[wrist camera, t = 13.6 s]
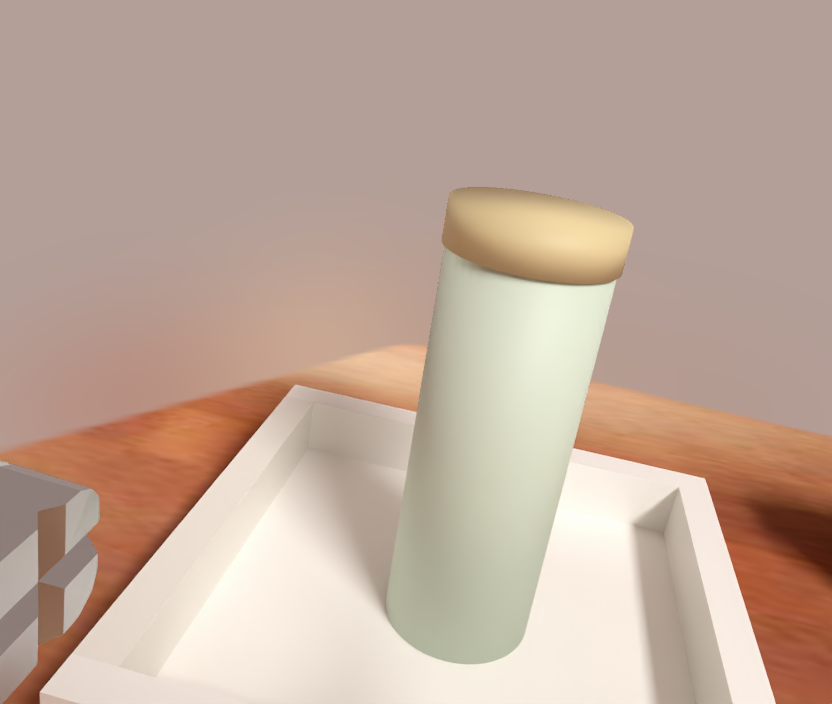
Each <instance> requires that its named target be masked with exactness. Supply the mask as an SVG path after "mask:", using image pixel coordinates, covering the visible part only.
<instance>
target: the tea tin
mask: <svg viewBox="0 0 832 704" xmlns="http://www.w3.org/2000/svg"><path fill="white" fill-rule="evenodd" d="M633 230H634V226H633V224H632V223H631V222H629V221H628V220H626V219H625V218H623V217H621V216H619V215H617V214H615V213H612V212H609V211H607V210H604V209H601V208H598V207H595V206H592V205H589V204H585V203H581V202H578V201H574V200H570V199H565V198H561V197H556V196H551V195H546V194H540V193H535V192H528V191H522V190H514V189H504V188H491V187H490V188H489V187H467V188H460V189H456V190H453V191H451V192H450V194H449V198H448V204H447V210H446V217H445V222H444V229H443V234H442V242H443V245H444V251H443V258H442V263H441V269H440V276H439V282H438V288H437V294H436V299H435V306H434V311H433V318H432V323H431V330H430V336H429V341H428V347H427V353H426V359H425V365H424V371H423V377H422V383H421V389H420V395H419V401H418V407H417V413H416V419H415V425H414V431H413V437H412V443H411V449H410V455H409V461H408V467H407V473H406V479H405V485H404V491H403V497H402V503H401V509H400V515H399V521H398V527H397V533H396V539H395V545H394V551H393V557H392V563H391V569H390V575H389V581H388V587H387V593H386V601H385V607H386V613H387V616H388V619H389V621H390V623H391V624H392V626H393V628H394V629H395V630H396V632H397V633H398V634H399V635H400V636H401V637H402V638H403V639H404V640H405V641H406V642H407V643H409V644H410V645H411V646H413V647H414V648H416V649H417V650H419V651H421V652H423V653H425V654H427V655H429V656H432V657H434V658H437V659H440V660H443V661H447V662H452V663H458V664H483V663H488V662H493V661H496V660H498V659H501V658H503V657H505V656H507V655H509V654H510V653H511V652H513V651H514V650H515V649H516V648H517V647H518V646H519V644H520V643H521V641H522V640H523V637H524V634H525V631H526V627H527V623H528V619H529V615H530V612H531V608H532V604H533V600H534V596H535V592H536V588H537V585H538V581H539V577H540V573H541V569H542V565H543V561H544V558H545V554H546V550H547V546H548V542H549V538H550V534H551V531H552V527H553V523H554V519H555V515H556V511H557V507H558V504H559V500H560V496H561V492H562V488H563V484H564V480H565V476H566V473H567V469H568V465H569V461H570V457H571V453H572V449H573V446H574V442H575V438H576V434H577V430H578V426H579V422H580V419H581V415H582V411H583V407H584V403H585V399H586V395H587V392H588V388H589V384H590V380H591V376H592V372H593V368H594V365H595V361H596V357H597V353H598V349H599V345H600V341H601V338H602V333H603V329H604V326H605V322H606V318H607V314H608V311H609V307H610V303H611V299H612V295H613V291H614V287H615V284H616V280H617V279H618V278H619V277H621V275H622V272H623V269H624V265H625V261H626V257H627V253H628V249H629V246H630V242H631V237H632V234H633Z"/></svg>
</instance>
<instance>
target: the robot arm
mask: <svg viewBox="0 0 832 704" xmlns="http://www.w3.org/2000/svg"><path fill="white" fill-rule="evenodd" d="M98 522H99V496H98V495H97V494H96V492H95V491H94V490H93V489H92V488H89V487H86V486H83V485H79V484H76V483H73V482H70V481H66V480H63V479H60V478H57V477H53V476H50V475H47V474H44V473H40V472H37V471H34V470H31V469H28V468H24V467H21V466H18V465H15V464H12V465H11V464H9V463H6V462H3V461H0V704H3V703H4V701H5V700H6V699H7V698H8V697H9V696H10V695H11V694H12V692H13V691H14V690H15V689H16V688H17V687H18V686H19V684H20V683H21V682H22V681H23V680H24V679H25V678H26V677H27V675H28V674H29V673H30V672H31V671H32V670H33V669H34V667H35V666H36V665H37V658H38V645H39V644H41V643H44V642H46V641H49V640H51V639H53V638H56V637H58V636H61V635H63V634H64V633H65V632H66V631H67V629H68V628H69V627H70V626H71V625H72V623H73V622H74V621H75V620H76V619H77V617H78V616H79V615H80V613H81V611H82V609H83V607H84V605H85V603H86V601H87V599H88V597H89V595H90V593H91V591H92V588H93V584H94V580H95V576H96V572H97V560H98V552H97V551H96V549H95V547H94V546H93V544H92V542H91V541H90V539H89V537H88V536H87V533H88V532H89V531H90V530H91V529H92V528H93V527H94V526H95V525H96V524H97V523H98Z"/></svg>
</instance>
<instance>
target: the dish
mask: <svg viewBox="0 0 832 704" xmlns="http://www.w3.org/2000/svg"><path fill="white" fill-rule="evenodd" d="M416 413H417V412H413V411H409V410H405V409H400V408H396V407H392V406H387V405H383V404H378V403H374V402H370V401H365V400H361V399H357V398H352V397H348V396H344V395H339V394H335V393H331V392H326V391H322V390H318V389H313V388H309V387H305V386H300V385H296V384H295V386H294V387H293V388H292V389H291V390H290V392H289V393H288V394H287V395H286V396H285V398H284V399H283V400H282V401H281V402H280V404H279V405H278V406H277V407H276V408H275V410H274V411H273V412H272V413H271V414H270V416H269V417H268V418H267V419H266V420H265V422H264V423H263V424H262V425H261V426H260V428H259V429H258V430H257V431H256V432H255V434H254V435H253V436H252V437H251V438H250V440H249V441H248V442H247V443H246V445H245V446H244V447H243V448H242V449H241V451H240V452H239V453H238V454H237V455H236V457H235V458H234V459H233V460H232V461H231V463H230V464H229V465H228V466H227V467H226V469H225V470H224V471H223V472H222V473H221V475H220V476H219V477H218V478H217V479H216V481H215V482H214V483H213V484H212V485H211V487H210V488H209V489H208V490H207V491H206V493H205V494H204V495H203V496H202V497H201V499H200V500H199V501H198V502H197V503H196V505H195V506H194V507H193V508H192V509H191V511H190V512H189V513H188V514H187V515H186V517H185V518H184V519H183V520H182V521H181V523H180V524H179V525H178V526H177V527H176V529H175V530H174V531H173V532H172V533H171V535H170V536H169V537H168V538H167V539H166V541H165V542H164V543H163V544H162V545H161V547H160V548H159V549H158V550H157V552H156V553H155V554H154V555H153V556H152V558H151V559H150V560H149V561H148V562H147V564H146V565H145V566H144V567H143V568H142V570H141V571H140V572H139V573H138V574H137V576H136V577H135V578H134V579H133V580H132V582H131V583H130V584H129V585H128V586H127V588H126V589H125V590H124V591H123V592H122V594H121V595H120V596H119V597H118V598H117V600H116V601H115V602H114V603H113V604H112V606H111V607H110V608H109V609H108V610H107V612H106V613H105V614H104V615H103V616H102V618H101V619H100V620H99V621H98V622H97V624H96V625H95V626H94V627H93V628H92V630H91V631H90V632H89V633H88V634H87V636H86V637H85V638H84V639H83V640H82V642H81V643H80V644H79V645H78V646H77V648H76V649H75V650H74V651H73V652H72V654H71V655H70V656H69V657H68V659H67V660H66V661H65V662H64V663H63V665H62V666H61V667H60V668H59V669H58V671H57V672H56V673H55V674H54V675H53V677H52V678H51V679H50V680H49V681H48V683H47V684H46V685H45V686H44V687H43V689H42V690H41V691H40V704H776V703H775V700H774V696H773V693H772V690H771V687H770V684H769V681H768V677H767V674H766V671H765V668H764V665H763V661H762V658H761V655H760V652H759V649H758V646H757V642H756V639H755V636H754V633H753V630H752V627H751V623H750V620H749V617H748V614H747V611H746V607H745V604H744V601H743V598H742V595H741V592H740V588H739V585H738V582H737V579H736V576H735V572H734V569H733V566H732V563H731V560H730V557H729V553H728V550H727V547H726V544H725V541H724V537H723V534H722V531H721V528H720V525H719V522H718V518H717V515H716V512H715V509H714V506H713V502H712V499H711V496H710V493H709V490H708V487H707V483H706V480H705V479H704V478H700V477H696V476H691V475H687V474H683V473H678V472H674V471H670V470H665V469H661V468H657V467H652V466H648V465H644V464H639V463H635V462H631V461H626V460H622V459H618V458H613V457H609V456H605V455H600V454H596V453H591V452H587V451H583V450H578V449H574V448H573V449H572V453H571V457H570V461H569V465H568V469H567V473H566V476H565V480H564V484H563V488H562V492H561V496H560V500H559V504H558V507H557V511H556V515H555V519H554V523H553V527H552V531H551V534H550V538H549V542H548V546H547V550H546V554H545V558H544V561H543V565H542V569H541V573H540V577H539V581H538V585H537V588H536V592H535V596H534V600H533V604H532V608H531V612H530V615H529V619H528V623H527V627H526V631H525V634H524V637H523V640H522V641H521V643H520V644H519V646H518V647H517V648H516V649H515V650H514V651H513V652H511V653H510V654H509V655H507V656H505V657H503V658H501V659H498V660H496V661H493V662H488V663H483V664H458V663H452V662H447V661H443V660H440V659H437V658H434V657H432V656H429V655H427V654H425V653H423V652H421V651H419V650H417V649H416V648H414V647H413V646H411V645H410V644H409V643H407V642H406V641H405V640H404V639H403V638H402V637H401V636H400V635H399V634H398V633H397V632H396V630H395V629H394V628H393V626H392V624H391V623H390V621H389V619H388V616H387V613H386V607H385V601H386V593H387V587H388V581H389V575H390V569H391V563H392V557H393V551H394V545H395V539H396V533H397V527H398V521H399V515H400V509H401V503H402V497H403V491H404V485H405V479H406V473H407V467H408V461H409V455H410V449H411V443H412V437H413V431H414V425H415V419H416Z"/></svg>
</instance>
